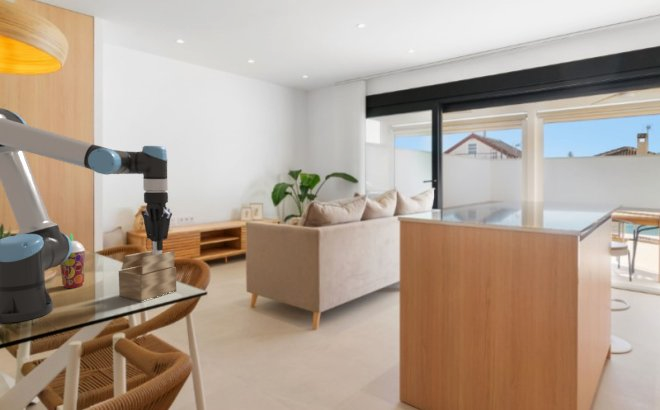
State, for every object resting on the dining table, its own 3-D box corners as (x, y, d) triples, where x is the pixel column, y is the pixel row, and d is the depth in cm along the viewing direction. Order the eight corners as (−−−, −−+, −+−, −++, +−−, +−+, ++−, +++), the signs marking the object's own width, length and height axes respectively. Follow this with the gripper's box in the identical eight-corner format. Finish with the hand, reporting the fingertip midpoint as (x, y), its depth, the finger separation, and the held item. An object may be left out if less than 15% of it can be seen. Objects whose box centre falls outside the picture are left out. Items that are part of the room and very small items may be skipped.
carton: (142, 302, 130) (141, 275, 130) (119, 296, 136) (118, 271, 135) (176, 291, 143) (175, 267, 142) (154, 286, 148) (153, 263, 148)
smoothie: (63, 284, 150) (61, 232, 148) (88, 282, 153) (86, 231, 151) (57, 290, 142) (54, 235, 141) (83, 288, 145) (81, 234, 144)
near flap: (143, 273, 130) (143, 257, 130) (142, 273, 131) (142, 257, 130) (174, 266, 141) (174, 251, 141) (173, 265, 142) (173, 251, 141)
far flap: (121, 269, 136) (125, 256, 134) (121, 269, 136) (124, 255, 134) (153, 262, 147) (157, 250, 145) (152, 262, 147) (156, 249, 145)
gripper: (178, 191, 134) (179, 259, 136) (152, 190, 141) (154, 255, 142) (159, 192, 128) (161, 263, 130) (133, 191, 134) (135, 259, 136)
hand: (157, 259), depth 136 cm, fingers closed
